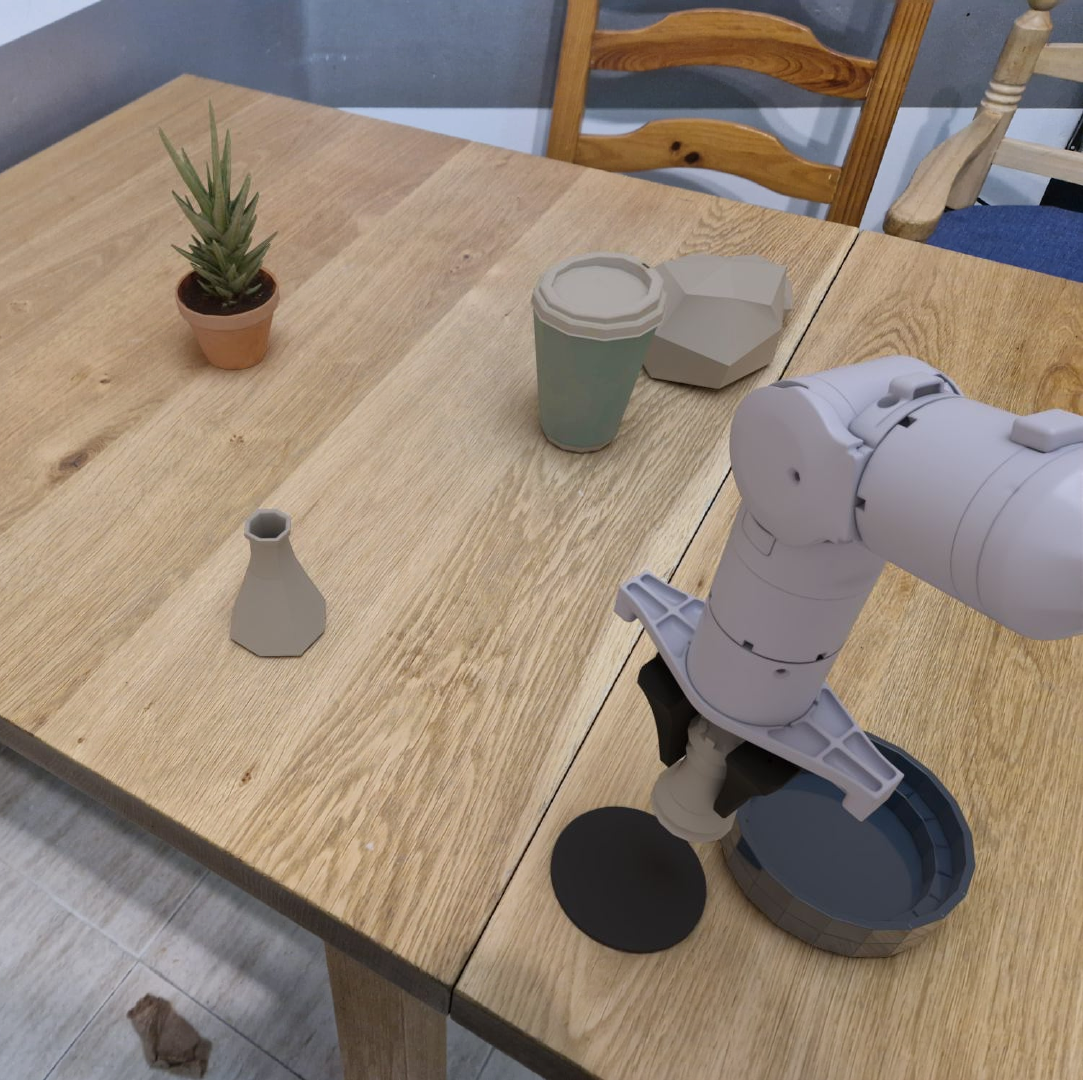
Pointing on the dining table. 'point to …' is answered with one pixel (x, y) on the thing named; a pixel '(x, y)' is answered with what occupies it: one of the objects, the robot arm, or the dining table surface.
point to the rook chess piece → (696, 785)
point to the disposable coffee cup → (592, 343)
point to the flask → (275, 592)
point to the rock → (718, 318)
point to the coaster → (628, 880)
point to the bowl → (854, 860)
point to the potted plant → (224, 265)
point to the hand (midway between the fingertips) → (703, 779)
